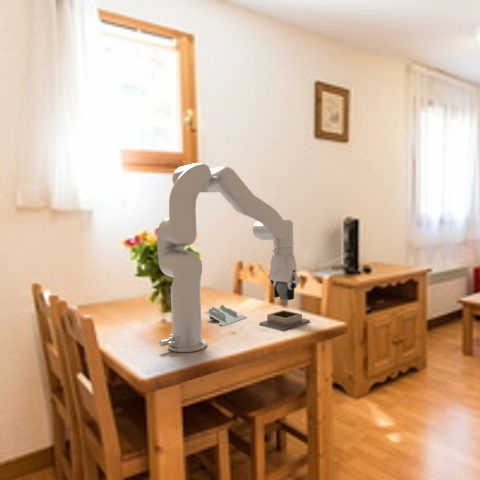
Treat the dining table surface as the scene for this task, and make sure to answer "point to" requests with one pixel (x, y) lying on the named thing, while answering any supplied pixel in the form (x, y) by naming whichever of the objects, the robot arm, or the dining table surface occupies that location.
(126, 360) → the dining table surface
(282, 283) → the light bulb
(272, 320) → the grey square socket base
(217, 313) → the metal bracket
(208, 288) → the dining table surface
